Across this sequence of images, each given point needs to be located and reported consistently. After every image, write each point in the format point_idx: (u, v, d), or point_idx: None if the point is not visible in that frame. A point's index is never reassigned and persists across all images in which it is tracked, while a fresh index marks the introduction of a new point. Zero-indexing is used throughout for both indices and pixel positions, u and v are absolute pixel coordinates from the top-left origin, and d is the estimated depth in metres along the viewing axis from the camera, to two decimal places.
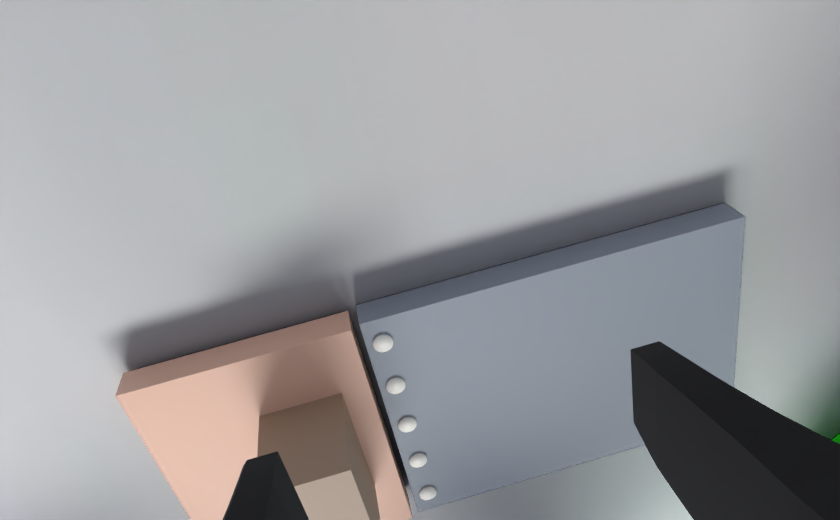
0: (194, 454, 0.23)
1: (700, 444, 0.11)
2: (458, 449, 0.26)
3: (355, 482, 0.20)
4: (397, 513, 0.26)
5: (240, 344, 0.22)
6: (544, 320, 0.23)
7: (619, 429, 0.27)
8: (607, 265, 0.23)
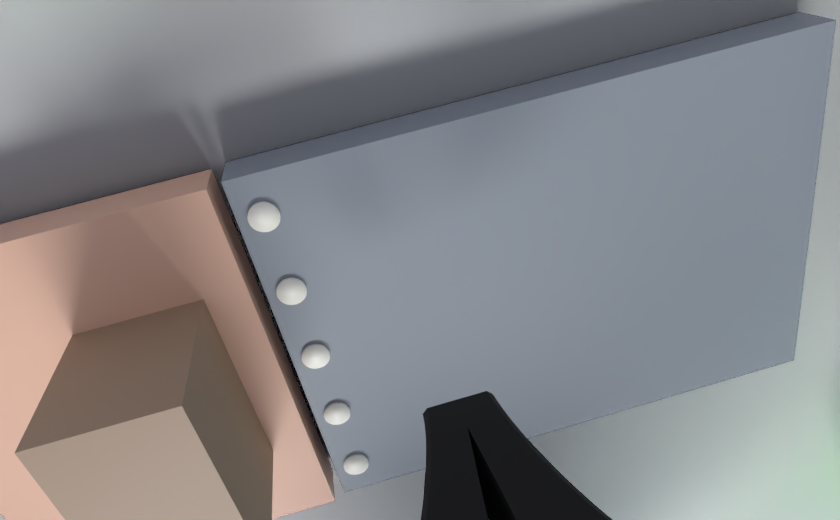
0: None
1: (499, 504, 0.10)
2: (396, 397, 0.17)
3: (195, 429, 0.12)
4: (311, 494, 0.18)
5: (36, 218, 0.14)
6: (521, 189, 0.15)
7: (634, 372, 0.18)
8: (619, 95, 0.14)
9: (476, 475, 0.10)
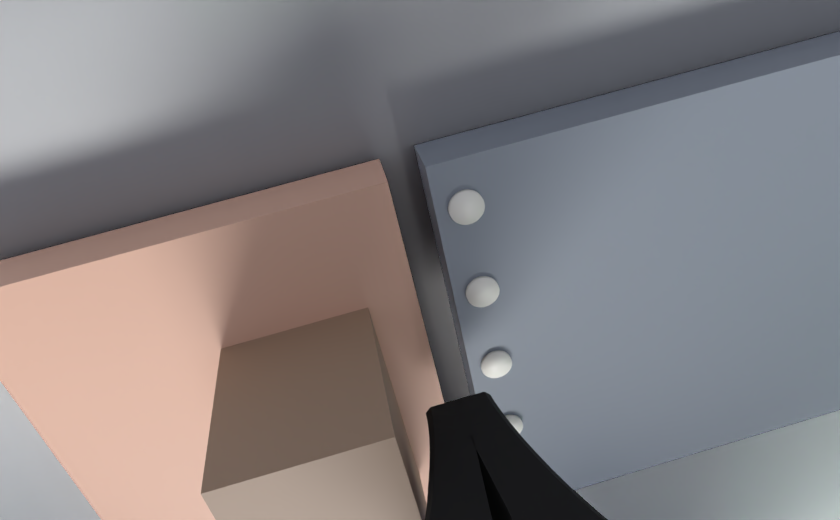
0: (107, 418, 0.13)
1: (496, 505, 0.10)
2: (573, 409, 0.16)
3: (402, 463, 0.10)
4: None
5: (184, 216, 0.12)
6: (744, 175, 0.13)
7: (823, 379, 0.17)
8: None
9: (480, 474, 0.10)
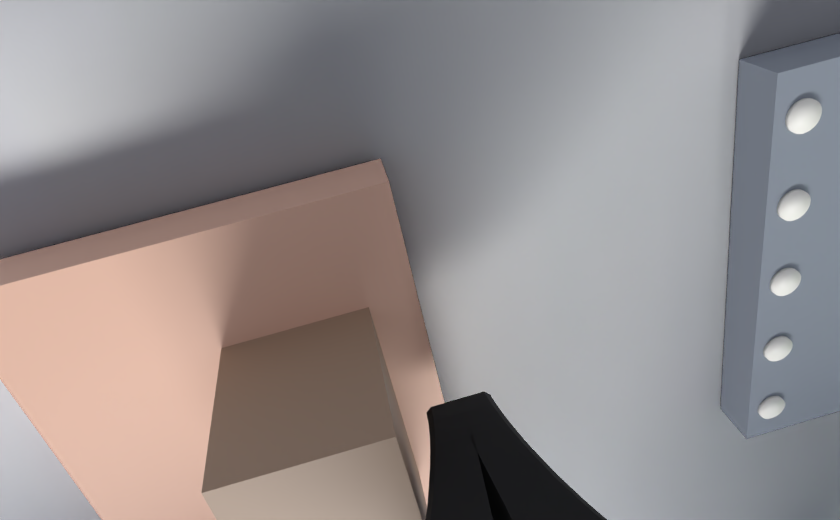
0: (107, 417, 0.13)
1: (495, 505, 0.10)
2: (838, 332, 0.16)
3: (403, 462, 0.10)
4: None
5: (185, 215, 0.12)
6: None
7: None
8: None
9: (481, 474, 0.10)
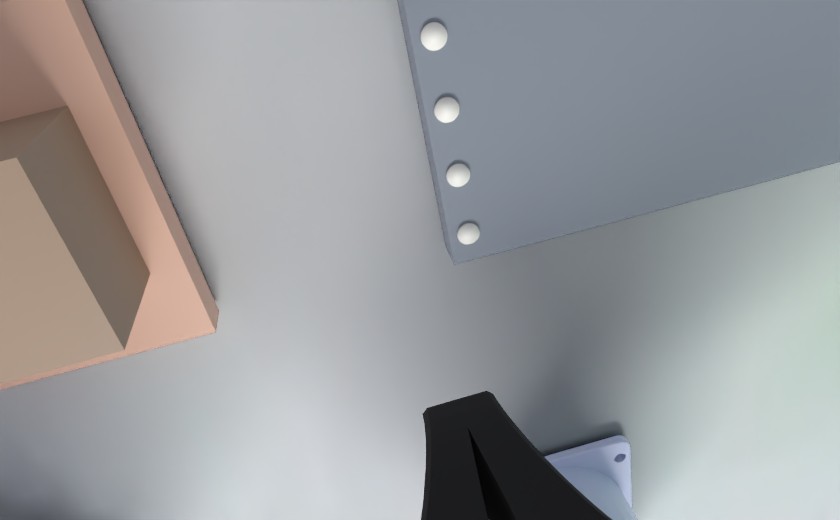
0: None
1: (499, 504, 0.10)
2: (511, 163, 0.19)
3: (33, 185, 0.13)
4: (192, 323, 0.19)
5: None
6: None
7: (721, 156, 0.20)
8: None
9: (476, 475, 0.10)
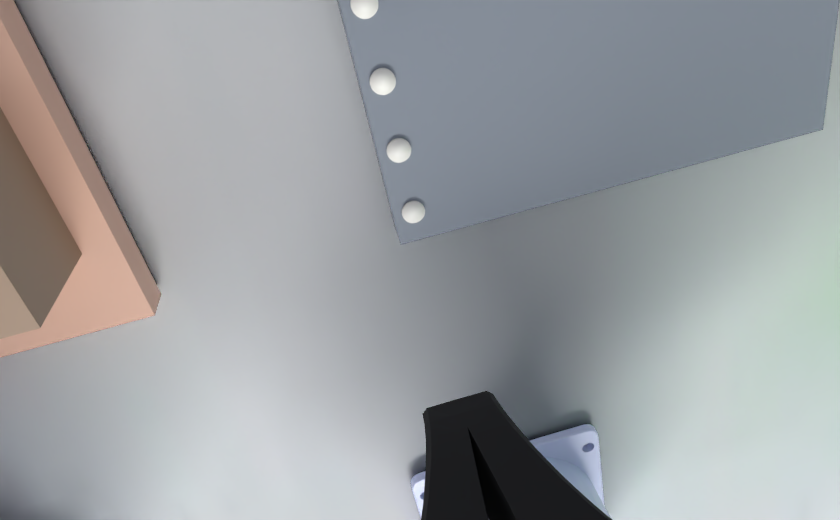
0: None
1: (499, 504, 0.10)
2: (454, 138, 0.18)
3: None
4: (129, 306, 0.19)
5: None
6: None
7: (674, 129, 0.20)
8: None
9: (476, 475, 0.10)
